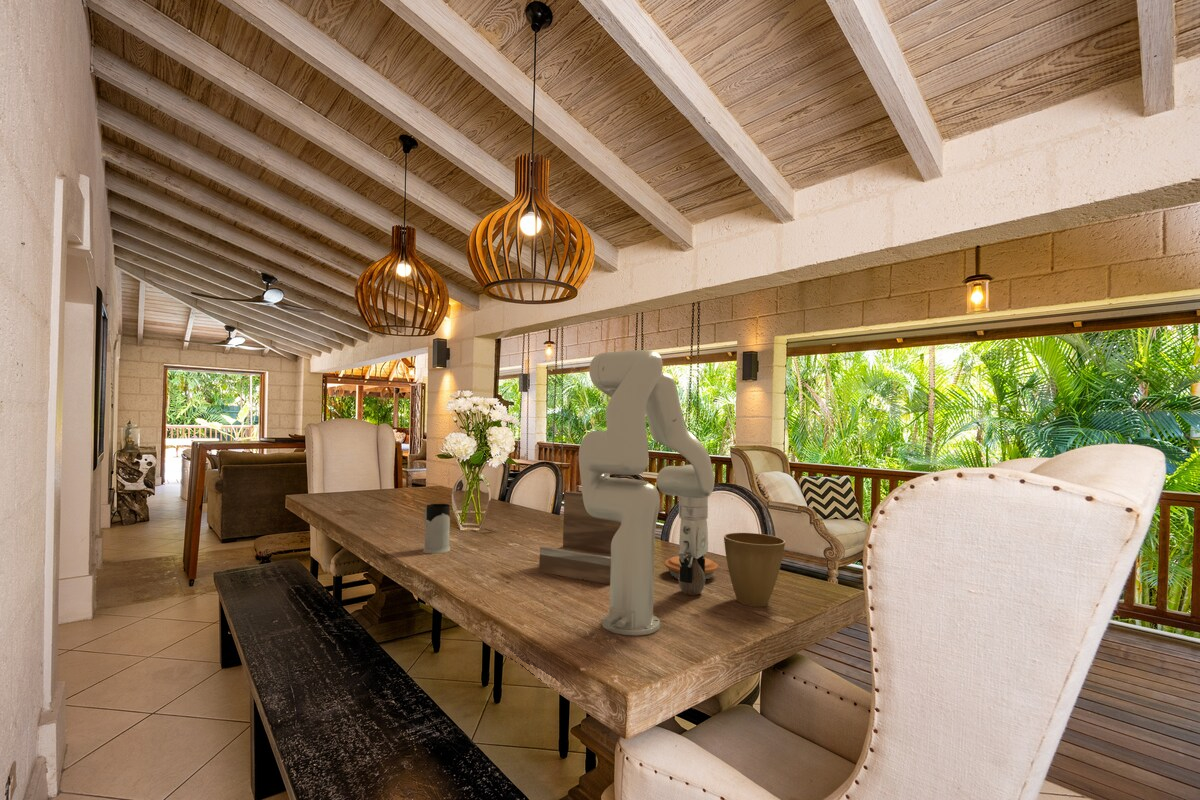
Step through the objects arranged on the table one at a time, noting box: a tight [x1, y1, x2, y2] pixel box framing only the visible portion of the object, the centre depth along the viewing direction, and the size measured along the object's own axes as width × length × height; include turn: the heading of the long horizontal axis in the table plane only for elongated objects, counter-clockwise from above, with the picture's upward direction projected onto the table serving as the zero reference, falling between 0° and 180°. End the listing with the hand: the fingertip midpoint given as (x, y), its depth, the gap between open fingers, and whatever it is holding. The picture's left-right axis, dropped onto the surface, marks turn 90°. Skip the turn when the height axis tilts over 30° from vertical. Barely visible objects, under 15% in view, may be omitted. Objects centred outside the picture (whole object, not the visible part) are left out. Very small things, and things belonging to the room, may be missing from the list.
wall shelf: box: [538, 490, 621, 585], centre depth 165 cm, size 14×24×22 cm, turn 61°
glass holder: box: [422, 503, 451, 555], centre depth 190 cm, size 9×14×15 cm, turn 41°
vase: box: [678, 559, 706, 596], centre depth 147 cm, size 7×7×9 cm
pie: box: [664, 555, 719, 581], centre depth 164 cm, size 16×16×5 cm
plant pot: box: [723, 532, 786, 607], centre depth 141 cm, size 15×15×16 cm
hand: (692, 577), depth 147 cm, fingers open, 9 cm apart
